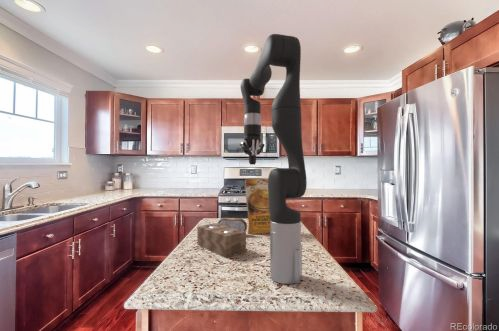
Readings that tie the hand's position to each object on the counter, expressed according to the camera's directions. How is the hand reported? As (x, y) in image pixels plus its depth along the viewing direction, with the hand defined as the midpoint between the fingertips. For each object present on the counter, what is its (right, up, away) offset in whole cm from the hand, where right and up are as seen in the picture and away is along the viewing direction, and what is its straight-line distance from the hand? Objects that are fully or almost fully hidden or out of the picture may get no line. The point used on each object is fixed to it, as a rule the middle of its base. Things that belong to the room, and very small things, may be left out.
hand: (252, 164), depth 110 cm
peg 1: (-17, -35, -1) cm, 39 cm away
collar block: (-13, -35, -5) cm, 38 cm away
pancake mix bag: (+5, -36, +21) cm, 42 cm away
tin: (-10, -36, +16) cm, 40 cm away
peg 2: (-10, -35, -9) cm, 37 cm away
